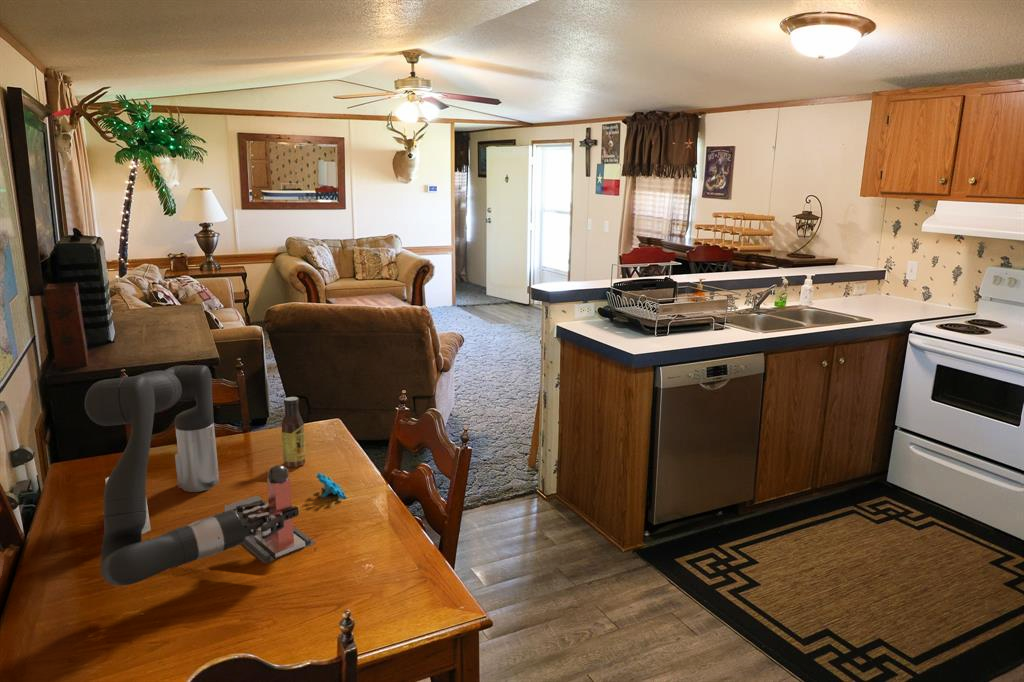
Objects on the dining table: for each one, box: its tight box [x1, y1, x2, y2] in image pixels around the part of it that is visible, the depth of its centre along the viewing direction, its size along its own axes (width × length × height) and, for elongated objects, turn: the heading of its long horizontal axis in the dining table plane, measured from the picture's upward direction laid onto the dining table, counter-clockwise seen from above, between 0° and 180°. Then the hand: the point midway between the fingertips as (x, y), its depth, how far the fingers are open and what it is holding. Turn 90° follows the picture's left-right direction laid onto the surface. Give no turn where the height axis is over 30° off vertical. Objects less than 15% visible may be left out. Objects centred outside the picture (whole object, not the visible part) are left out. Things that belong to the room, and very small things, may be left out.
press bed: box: [224, 495, 317, 564], centre depth 156 cm, size 28×12×5 cm, turn 45°
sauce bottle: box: [281, 396, 306, 468], centre depth 193 cm, size 7×6×20 cm
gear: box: [315, 472, 348, 500], centre depth 174 cm, size 11×6×10 cm
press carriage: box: [254, 464, 305, 558], centre depth 148 cm, size 10×7×19 cm
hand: (292, 507), depth 149 cm, fingers closed on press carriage, 3 cm apart
